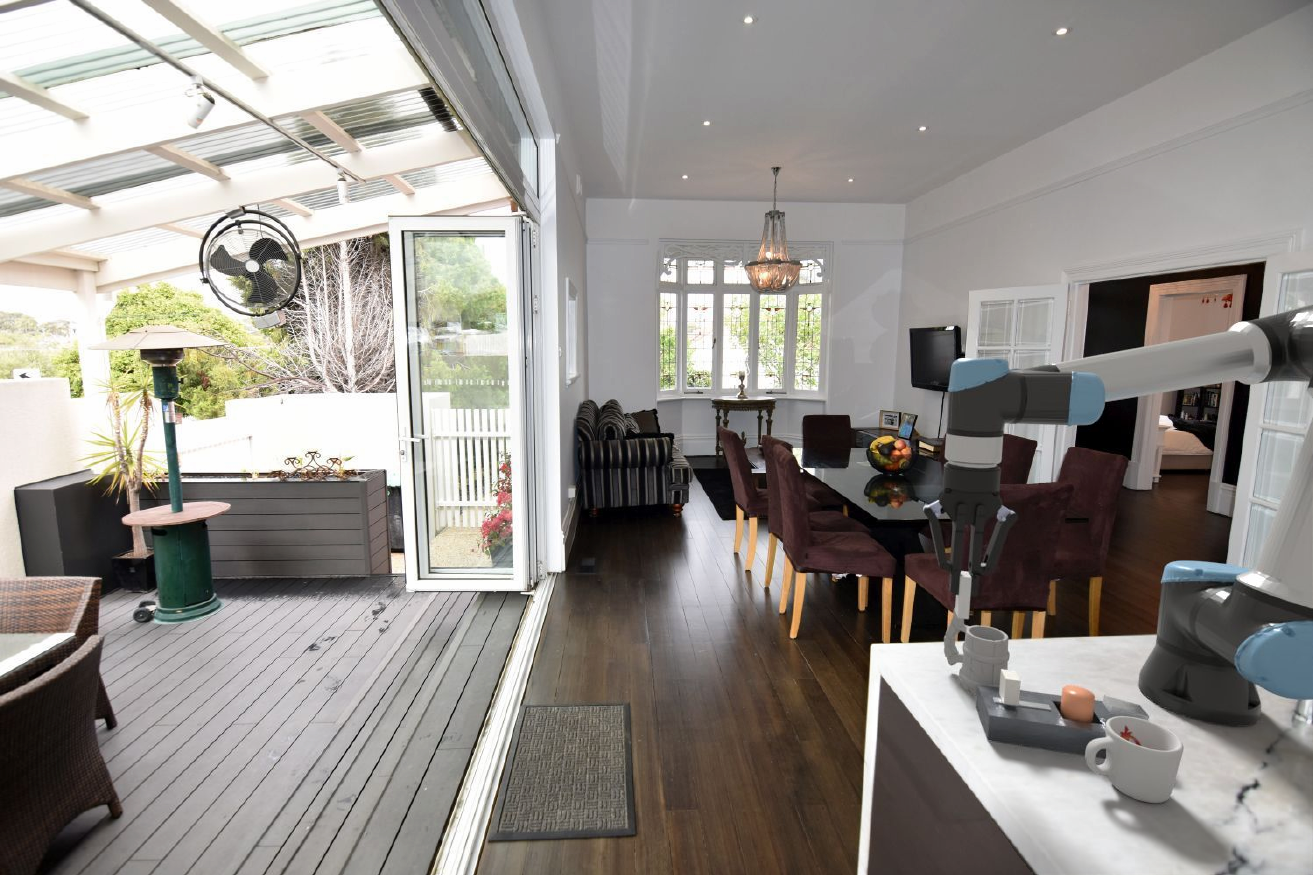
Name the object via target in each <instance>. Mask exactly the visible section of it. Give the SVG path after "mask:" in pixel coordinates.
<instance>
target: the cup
mask: <svg viewBox="0 0 1313 875" xmlns="http://www.w3.org/2000/svg"><path fill="white" fill-rule="evenodd" d="M1105 730H1106V737H1105V738H1098V739H1094V740H1092V741H1091V742H1089V744H1088V745H1087V747H1086V752H1085V756H1084V757H1085V761H1086V764H1087V766H1088V768H1089V769H1090V770H1091V771H1092V772H1094V773H1095V774H1098V775H1100V776H1101V775H1102V776H1108V779H1109V781H1110V783H1112V785H1113V786H1114V788H1116V789H1117V790H1118V791H1120V792H1121V793H1123V794H1124V795H1126V796H1129V798H1133V799H1135V800H1138V801H1141V802H1144V803H1150V804H1160V803H1163V802H1166V801H1168V800H1169V798H1170V797H1171V795H1172V793H1173V790H1174V787H1175V784H1176V779H1177V776H1178V772H1179V769H1180V764H1181V762H1182V757H1183V753H1184V743H1183V742H1182V739H1180V738H1179V736H1177V735H1176V734H1175V733H1174V732H1172V731H1171V730H1169V729H1168V728H1166V727H1164V726H1162V725H1159V724H1157V723H1156V722H1152V721H1150V720H1148V721H1147V720H1143V719H1140V718H1135V717H1128V716H1117V717H1112V718H1110V719H1108V720H1107V722H1106V725H1105ZM1101 749H1106V759H1105V760H1104V762H1103V763H1102V764H1099V765H1098V764H1096V758H1097V757H1096V754H1097V752H1098V751H1099V750H1101Z"/></svg>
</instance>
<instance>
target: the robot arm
mask: <svg viewBox="0 0 1313 875" xmlns="http://www.w3.org/2000/svg"><path fill="white" fill-rule="evenodd" d="M1009 365H1010V364H1009V361H1008V359H1006V358H1003V357H1002V358H1000V357H999V358H997V357H995V358H989V357H988V358H985V357H984V358H981V357H980V358H979V357H977V358H974V357H965V358H963V357H962V358H961V357H960V358H958V359H956V360H954V361H953V363H952V364H951V370H950V376H949V381H948V382H949V383H948V388H947V391H948V395H947V396H948V397H947V398H948V399H947V420H946V436H945V449H944V458H945V460H946V461H947V462H945V463H944V464H943V477H942V479H943V480H942V489H941V492H940V494H939V495H938V496H937V500H935V501H933V502H932V503H929V504H927V503H926V504H923V505H922V511H923V513H924V514H925V516H926V518H927V519H928V522H929V526H930V533H931V537H932V540H933V541H932V542H933V546H934V551H935V556H936V561H937V564H938V566H939V568H940V569H941V570H942V571H947V572H948V573H949V584H948V589H949V591H950V594H951V595H955V602H954V606H955V607H954V609H955V612H956V615H957V617H958V618H963V619H964V620H969V619H970V606H971V597H975V598H977V597H978V595H979V587H980V579H981V577H982V575H983V576H984V575H992V574H994V572H995V570H996V567H997V564H998V561H999V559H1000V555H1001V553H1002V550H1003V547H1004V544H1005V542H1006V540H1007V536H1008V534H1009V531H1010V529H1011V527H1013V526H1014V524H1015V523H1016V522H1017V521H1018V519H1019V515H1018V514H1017V513H1016V512H1015V511H1014V510H1013V509H1008V508H1007V507H1005V506H1004V505H1003V500H1002V498H1001V497H1000V487H1001V486H1000V484H1001V472H1002V471H1001V470H1002V468H1001V467H1000V466H999V465H998V464H1000V463H1001V462H1002V459H1003V445H1004V444H1003V443H1004V435H1005V430H1004V429H1005V424H1010V425H1017V424H1021V425H1022V424H1025V425H1044V426H1045V425H1046V426H1047V425H1050V426H1067V427H1072V426H1088V425H1092V424H1094V423H1095V422H1097V421H1098V420H1099V419H1100V418H1101V416H1102V414H1103V411H1104V409H1105V405H1106V404H1105V403H1106V402H1112V401H1118V400H1125V399H1131V398H1137V397H1142V396H1143V397H1144V396H1149V395H1156V394H1161V393H1166V392H1167V393H1168V392H1173V391H1174V392H1175V391H1179V390H1186V389H1193V388H1199V387H1203V386H1205V387H1206V386H1210V385H1215V384H1221V383H1222V384H1223V383H1228V382H1229V383H1230V382H1234V381H1238V382H1240V383H1242V384H1243V385H1252V386H1253V385H1256V384H1263V383H1273V382H1306V383H1307V382H1309V383H1308V385H1307V387H1306V392H1307V393H1308V394H1309V396H1310V397H1311V398H1312V399H1313V304H1311V305H1307V306H1303V307H1298V308H1295V309H1292V310H1288V311H1285V312H1284V311H1283V312H1281V313H1275V314H1272V315H1268V316H1264V317H1260V318H1259V317H1258V318H1255V319H1252V320H1244V321H1240V322H1237V323H1234V324H1232V326H1230V327H1229V329H1227V331H1223V332H1217V333H1212V334H1206V335H1202V336H1196V337H1189V338H1185V339H1179V340H1174V341H1173V340H1172V341H1167V342H1163V343H1157V344H1152V345H1145V346H1141V347H1136V348H1130V349H1123V350H1120V351H1114V352H1109V353H1104V354H1103V353H1101V354H1097V355H1091V356H1086V357H1082V358H1075V359H1072V360H1071V359H1070V360H1066V361H1060V362H1055V363H1050V364H1046V365H1045V364H1043V365H1039V366H1034V367H1028V368H1022V369H1021V368H1009V367H1010V366H1009ZM941 509H943V511H944V512H945V513H946V515H947V516H948V517H949V519H950V520H951V521H952V523H951V524H952V533H951V542H950V543H951V546H950V557H949V560H948V558H947V552H946V547H945V544H944V542H945V541H944V538H943V534H942V533H943V532H942V528H941V522H940V521H939V517H940V516H941ZM995 514H997V515H996V519H997V522H996V524H995V527H994V529H993V532H992V535H991V538H990V540H989V544H988V545H987V548H986V551H985V554H984V557H982V554H983V542H984V541H983V540H984V534H985V525H986V524H987V523H988V522H989V521H990V520H991V519H992V517H994V516H995ZM966 525H967V526H968V525H970V537H969V538H970V540H969V555H968V571H964V570H962V564H963V563H962V562H963V551H964V550H963V549H964V538H965V531H966ZM982 558H983V560H982ZM1160 584H1161V587H1160V588H1161V589H1160V596H1159V597H1160V601H1159V608H1158V619H1157V620H1158V621H1157V628H1156V629H1157V630H1156V638H1155V639H1156V640H1155V641H1156V642H1155V645H1154V647H1153V649H1152V650H1151V652H1150V654H1149V655H1148V657H1147V659H1146V660H1145V662H1144V664H1143V665H1142V667H1141V668H1140V671H1139V672H1138V673H1139V675H1138V682H1137V683H1138V689H1139V690H1140V692H1141V693H1142V694H1143V695H1145V697H1146V698H1148V699H1149V700H1150V701H1152V702H1153V703H1155V704H1157V705H1159V706H1160V707H1163V708H1164V709H1166V710H1169V711H1171V712H1174V713H1175V714H1178V715H1181V716H1184V717H1186V718H1190V719H1192V720H1197V721H1201V722H1204V723H1208V724H1214V725H1220V726H1227V727H1247V726H1253V725H1256V724H1257V723H1259V721H1260V719H1261V714H1262V701H1261V698H1260V695H1259V691H1258V688H1257V686H1258V687H1259V688H1262V689H1263V690H1265V691H1267V692H1269V693H1271V694H1273V695H1276V696H1278V697H1281V698H1285V699H1290V700H1297V701H1311V700H1313V417H1312V418H1311V421H1310V424H1309V426H1308V429H1307V431H1306V434H1305V437H1304V440H1303V442H1302V445H1301V447H1300V450H1299V453H1298V455H1297V458H1296V460H1295V463H1294V466H1293V468H1292V471H1291V473H1290V476H1289V479H1288V481H1287V483H1286V486H1285V490H1284V491H1283V494H1282V497H1281V500H1280V503H1279V505H1278V508H1277V510H1276V513H1275V515H1274V518H1273V521H1272V522H1271V526H1270V528H1269V532H1268V533H1267V536H1266V539H1265V542H1264V544H1263V547H1262V549H1261V551H1260V555H1259V557H1258V560H1257V563H1256V565H1255V568H1253V569H1251V568H1248V567H1244V566H1237V565H1233V564H1227V563H1218V562H1213V561H1211V562H1210V561H1202V560H1176V561H1175V560H1174V561H1171V562H1169V563H1167V564H1166V565H1165V566H1164V570H1163V574H1162V578H1161V580H1160Z"/></svg>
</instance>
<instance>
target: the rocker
mask: <svg viewBox="0 0 1313 875" xmlns="http://www.w3.org/2000/svg"><path fill="white" fill-rule="evenodd" d="M1101 701H1102V703H1103V704H1104V705H1105V707H1106V708H1107V709H1108V711H1109V712H1110V713H1112V714H1115V715H1119V716H1128V717H1135V718H1140V719H1143V720H1147V721H1149V720H1150V715H1149V714H1148V713H1147V712H1146V711H1145V710H1144V708H1143V707H1142V706H1141V704H1137V703H1133V702H1129V701H1125V700H1123V699H1118V698H1115V697H1112V696H1107V695H1104V696H1103V699H1102V700H1101Z"/></svg>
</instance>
